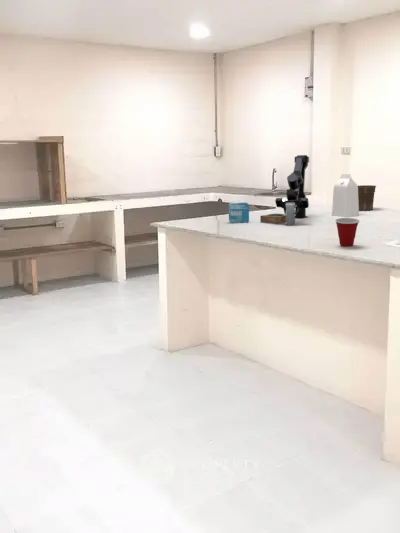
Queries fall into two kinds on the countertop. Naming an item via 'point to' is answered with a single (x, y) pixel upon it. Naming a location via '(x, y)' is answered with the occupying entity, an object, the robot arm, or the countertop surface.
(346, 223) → the plastic cup
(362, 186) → the plant pot
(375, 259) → the countertop surface
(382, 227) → the countertop surface
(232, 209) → the data package
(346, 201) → the milk
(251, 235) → the countertop surface
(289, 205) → the grey bottle
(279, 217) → the stand
